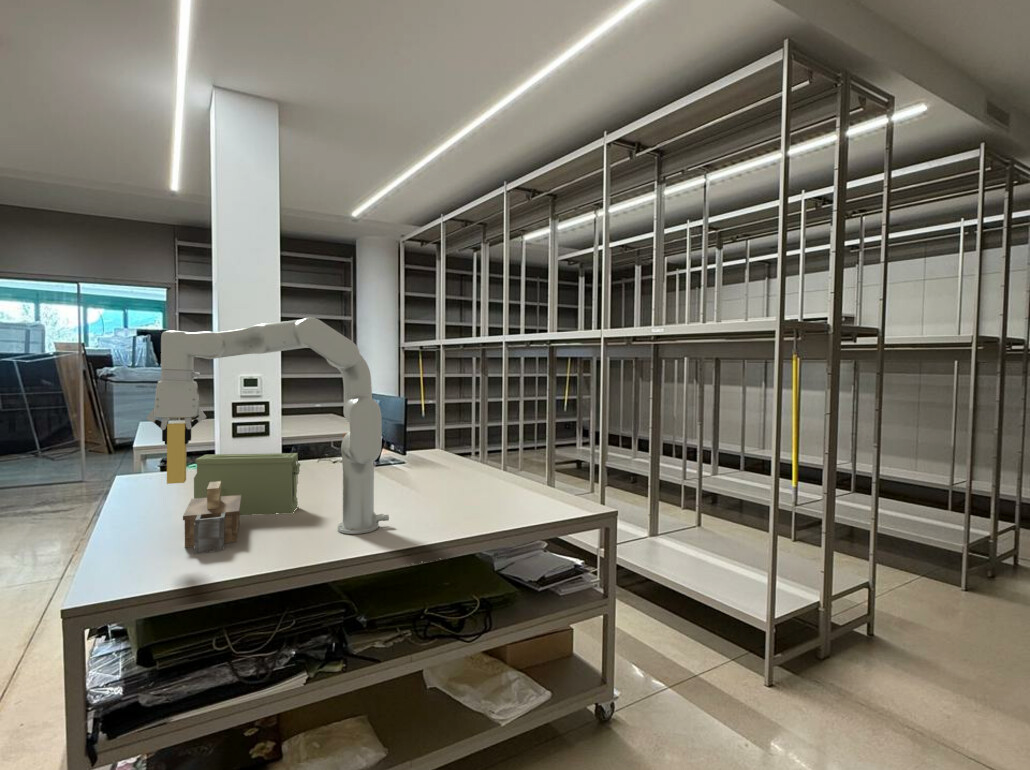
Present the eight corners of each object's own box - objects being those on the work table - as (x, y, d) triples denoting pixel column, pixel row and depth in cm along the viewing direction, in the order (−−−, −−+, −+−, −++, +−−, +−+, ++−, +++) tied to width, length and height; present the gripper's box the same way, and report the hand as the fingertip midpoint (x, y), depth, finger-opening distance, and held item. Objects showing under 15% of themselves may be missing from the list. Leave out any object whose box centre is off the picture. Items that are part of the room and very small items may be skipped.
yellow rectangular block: (186, 480, 150) (186, 422, 150) (184, 482, 146) (184, 423, 146) (169, 481, 148) (169, 422, 148) (166, 483, 145) (167, 424, 144)
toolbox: (239, 523, 176) (239, 499, 175) (235, 548, 152) (235, 520, 151) (193, 527, 170) (193, 502, 170) (181, 555, 146) (181, 525, 146)
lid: (241, 501, 176) (241, 476, 176) (238, 523, 152) (238, 495, 152) (191, 505, 170) (191, 479, 170) (180, 529, 146) (179, 499, 146)
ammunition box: (296, 513, 188) (296, 456, 188) (192, 517, 182) (192, 458, 181) (301, 506, 198) (301, 452, 197) (203, 510, 191) (203, 453, 191)
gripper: (213, 376, 154) (213, 441, 154) (143, 375, 147) (143, 442, 147) (211, 377, 147) (210, 444, 147) (137, 376, 140) (137, 446, 140)
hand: (176, 443), depth 147 cm, fingers closed on yellow rectangular block, 3 cm apart
